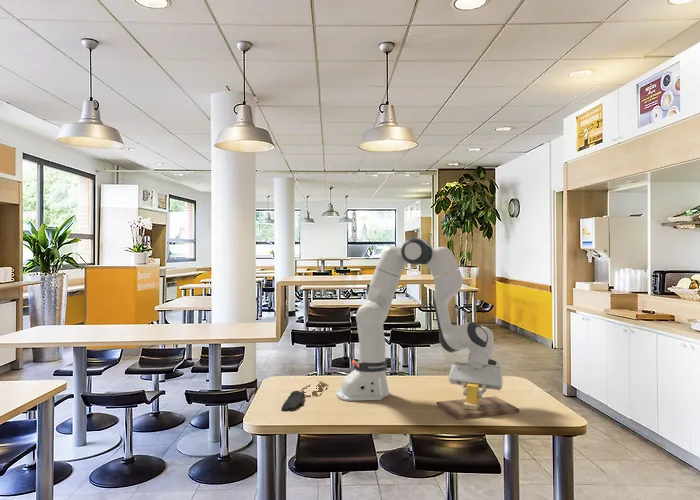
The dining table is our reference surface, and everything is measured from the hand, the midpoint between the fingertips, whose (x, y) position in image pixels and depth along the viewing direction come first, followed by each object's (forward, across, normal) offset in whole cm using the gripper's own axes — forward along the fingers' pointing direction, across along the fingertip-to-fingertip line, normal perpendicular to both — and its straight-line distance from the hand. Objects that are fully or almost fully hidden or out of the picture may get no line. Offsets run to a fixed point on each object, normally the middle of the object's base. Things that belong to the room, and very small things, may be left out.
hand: (472, 395), depth 186 cm
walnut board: (+2, +1, +6) cm, 6 cm away
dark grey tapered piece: (+20, -65, -11) cm, 69 cm away
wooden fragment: (+6, -68, +4) cm, 69 cm away
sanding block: (+2, 0, +4) cm, 4 cm away
